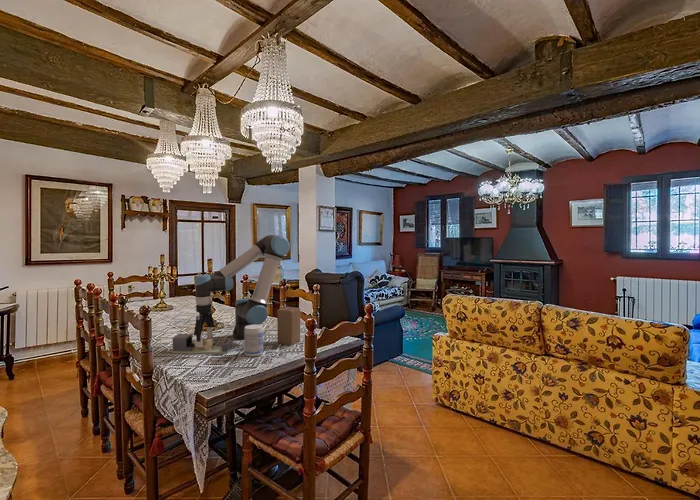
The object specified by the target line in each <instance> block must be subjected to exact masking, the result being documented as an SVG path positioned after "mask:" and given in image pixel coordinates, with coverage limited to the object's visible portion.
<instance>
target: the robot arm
mask: <svg viewBox="0 0 700 500" xmlns="http://www.w3.org/2000/svg"><path fill="white" fill-rule="evenodd" d="M290 247H291V245H290V242H289V240H288V238H287V237H285V236H284V235H279V234H268V235H265V236H264V237H262V238H261V239H259V240H258V241H257V242H255V243H253V244H252V247H251V248H249V249H248V250H246V251H245V252H243V253H241V255H239V256H238V257H236V258H235V259H233V260H232V261H230V262H229V263H227V264H226V265H225V266H223V267H222V268H220V269H219V270H217V271H216V272H214V273H211V274H198V275H196V276H195V277H194V280H195V281H194V287H195V288H194V289H195V298H194V299H195V304H196V305H195V311H196V312H197V313H198V315H196V316H195V324H194V331H193V336H195V337H196V339H195V340H196V344H197V347H202V339H203V334H202V331H203V328H204V324H205V325H206V339H213V340H214V337H213V327H215V323H214V322H215V321H214V319H213V315H212V293H214V292H215V293H216V292H224V291H227V292H228V291H231V290H233V288H234V279H233V277H234V276H235V275H237V274H238V273H239V272H241V271H243V270H244V269H245V268H247V267H248V266H249V265H251V264H252V263H254V262H255V261H256V260H258V259H259V258H264V260H263V262H262V263H263V264H262V266H261V270H260V271H259V274H258V278H257V282H256V284H255V287H254V290H253V293H252V296H251V297H248V298H246V297H245V298H239V299H236V300H235V305H234V308H235V312H234V313H235V316H234V317H235V324H234V328H233V331H232V338H234V339H236V340H244V329H245V326H248V325H262V324H263V323H264V322H266V321H267V318H268V316H269V312H268V305H269V303H268V297H269V293H270V290H271V288H272V284H273V282H274V280H275V275H276V273H277V269H278V266H279V263H280V262H281V261H283V260H284V258H285V255H286V254H288V252H289V251H290Z"/></svg>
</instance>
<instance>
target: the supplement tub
mask: <svg viewBox="0 0 700 500" xmlns="http://www.w3.org/2000/svg"><path fill="white" fill-rule="evenodd" d="M243 340H244V345H243V346H244V355H245V356H247V357H250V358H251V357H253V358H254V357H258V356H261V355H263V353H264V326H263V325H262V324H259V325H248V326H245V329H244V339H243Z"/></svg>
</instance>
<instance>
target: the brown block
mask: <svg viewBox="0 0 700 500" xmlns="http://www.w3.org/2000/svg"><path fill="white" fill-rule="evenodd" d="M213 340H214V338H213V339H207V338H202V347H197V344H196V339H195V340H194V343H195V350H211V349H212V348H213V343H214V341H213Z"/></svg>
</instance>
